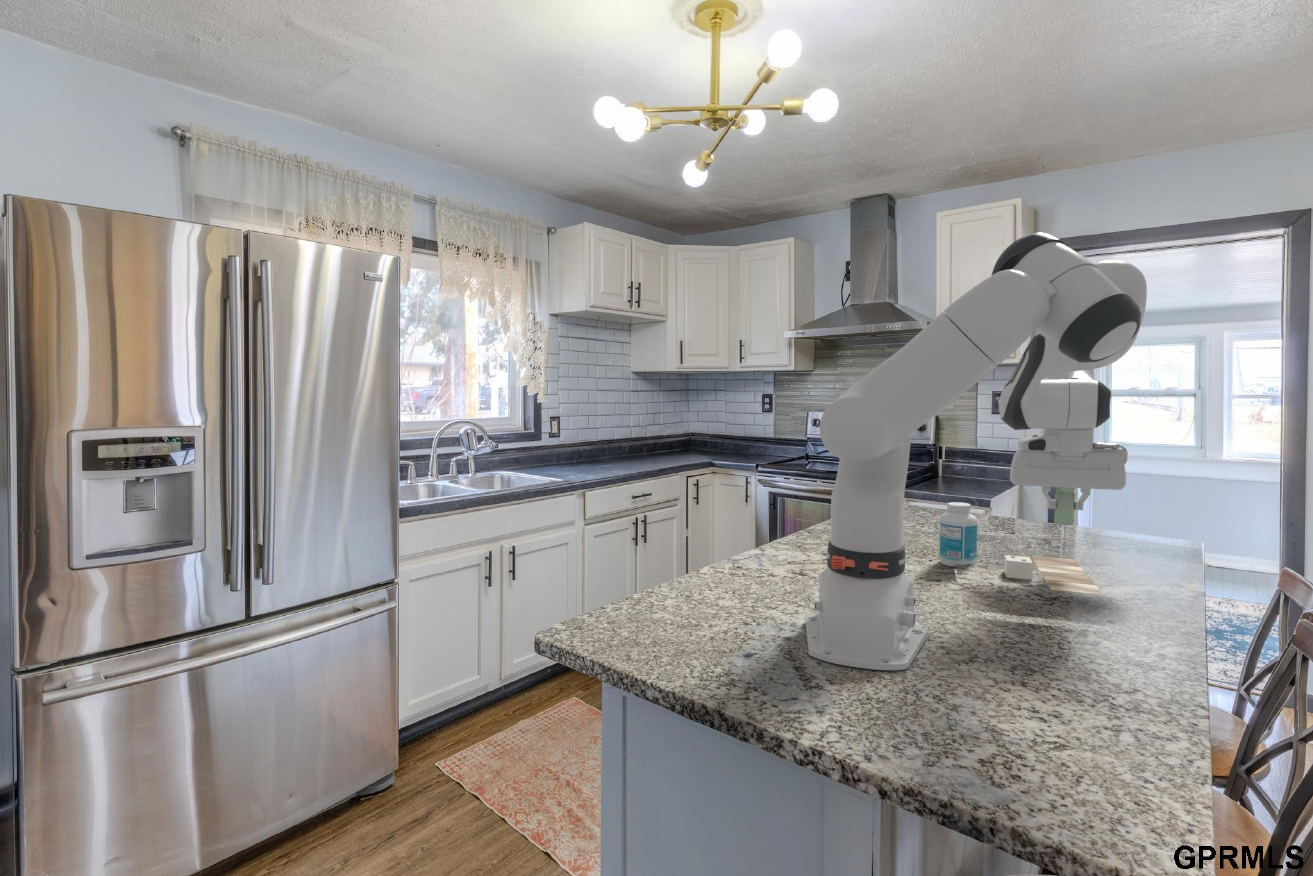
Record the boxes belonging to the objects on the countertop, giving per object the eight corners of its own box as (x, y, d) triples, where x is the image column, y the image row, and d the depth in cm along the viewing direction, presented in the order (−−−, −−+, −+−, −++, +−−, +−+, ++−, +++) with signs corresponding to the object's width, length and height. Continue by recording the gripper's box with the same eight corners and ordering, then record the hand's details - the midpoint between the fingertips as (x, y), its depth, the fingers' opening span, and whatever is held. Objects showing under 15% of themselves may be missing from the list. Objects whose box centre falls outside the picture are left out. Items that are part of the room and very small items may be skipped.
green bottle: (1075, 525, 134) (1077, 481, 133) (1055, 524, 135) (1057, 481, 135) (1071, 522, 137) (1073, 479, 136) (1053, 521, 139) (1054, 478, 138)
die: (1031, 585, 130) (1032, 562, 130) (1006, 582, 132) (1007, 560, 132) (1028, 578, 135) (1029, 556, 134) (1003, 576, 136) (1004, 554, 136)
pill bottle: (968, 560, 148) (970, 500, 147) (981, 569, 141) (984, 507, 140) (934, 559, 149) (936, 500, 148) (945, 568, 142) (947, 506, 140)
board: (1105, 600, 121) (1105, 595, 121) (1049, 594, 124) (1049, 589, 124) (1075, 563, 145) (1075, 559, 145) (1028, 559, 148) (1028, 555, 148)
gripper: (1123, 442, 134) (1120, 509, 135) (1010, 439, 142) (1007, 503, 143) (1132, 445, 128) (1129, 515, 129) (1013, 442, 136) (1011, 508, 137)
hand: (1064, 508), depth 136 cm, fingers closed on green bottle, 3 cm apart
